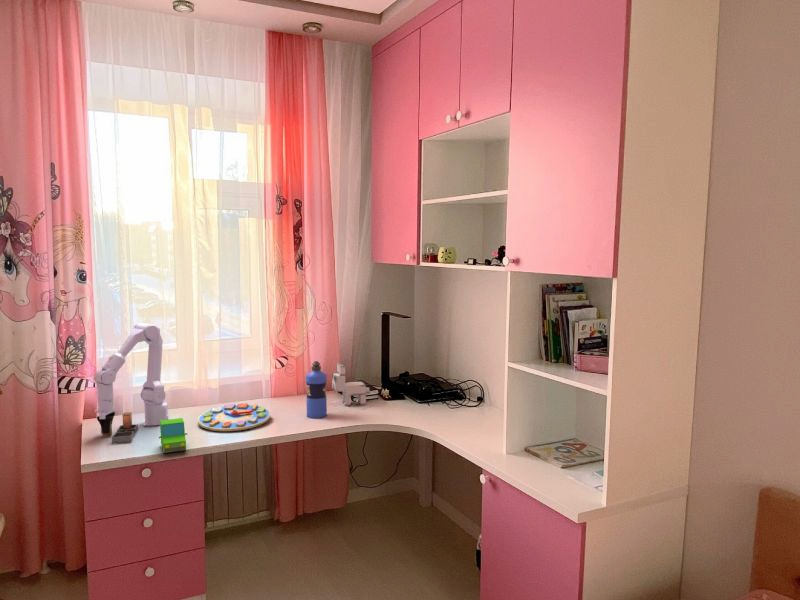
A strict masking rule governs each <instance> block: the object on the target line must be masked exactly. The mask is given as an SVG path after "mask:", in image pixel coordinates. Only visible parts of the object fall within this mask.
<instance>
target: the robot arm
mask: <svg viewBox="0 0 800 600" xmlns="http://www.w3.org/2000/svg"><path fill="white" fill-rule="evenodd" d="M142 342H146V344H147V345H148V353H147V354H148V356H147V368H146V369H147V370H146V371H147V372H146V373H147V374H146V381H145V382H144V383H143V385H142V389H141V391H140V397H141V400H143V403H144V405H143V406H144V422H143V424H142V426H143V427H147V426H149V427H150V426H160V420H168V419H169V405H168V402H166V401H165V400H166V391H165V386H164V384H163V383H162V382H161V378H162V377H161V376H162V375H161V374H162V359H163V357H162V356H163V338H162V335H161V329H160V328H159V327H158V326H157V325H156V324H153V323H144V322H138V323H135V325H134V326H133V328H131V330H130V332H129V335H128V337H127V338H126V339H125V341H124V342H123V344H122V346H121V347H120V348H119V349H118V352H116V353H113V354H111V355H109V357H108V360H107V361H106V363H104V365H103V366H102V367H101V368H100V369H98V370H97V371H96V372H95V374H94V376H93V377H92V379H93V381H94V382H95V383H96V389H97V392H96V393H97V409H95V410H94V413H97V414H98V415H99V416H97V417H96V420H97V421H98V423H99V425H100V429H101V428H102V432H103V434H105V433H109V430H110V423H112V424H113V420H114V417H115V415H116V411H115V406H114V403H115V402H114V384H113V383H114V382H115V381H116V379H117V374H118V372H119V371H120V370H121V368H122V367H123V366H124V364H125V363H126V357H127V355H129V353H130V352H131V351H132V350H133V348H134V347H135V346H136V345H137V344H138V343H142ZM164 401H165V402H164Z"/></svg>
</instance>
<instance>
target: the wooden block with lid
mask: <svg viewBox="0 0 800 600" xmlns="http://www.w3.org/2000/svg"><path fill="white" fill-rule="evenodd" d="M112 425H113V422H112V423H110V430H109V433H105V434H103V432H102V428H101V427H100V434H101V435H102V436H101V437H102V438H109V436H110V437H111V436H113V431H112V430H113V428H112V427H113V426H112Z"/></svg>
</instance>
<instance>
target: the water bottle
mask: <svg viewBox="0 0 800 600" xmlns="http://www.w3.org/2000/svg"><path fill="white" fill-rule="evenodd" d="M311 365H312V366H311V368H310V369H311V371H310V372H309V373H307V374H305V383H306V390H307V391H306V418H308V419H313V420H314V419H317V420H318V418H319V419H325V418H326V417H327V414H328V413H327V412H328V411H327V409H328V408H327V406H328V405H327V404H328V403H327V400H328V399H327V392H326V388H327V380H328V379H327V375H328V374H327V373H325V372H324V371H321V370H322V367H321V363H320V362H319V360H318V361H317V360H315V361H313V362H312V363H311Z"/></svg>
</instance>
